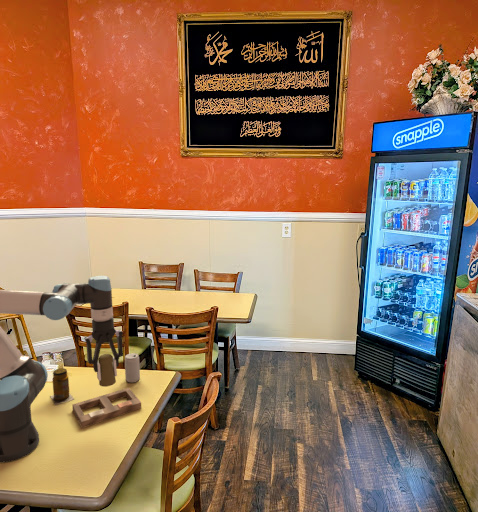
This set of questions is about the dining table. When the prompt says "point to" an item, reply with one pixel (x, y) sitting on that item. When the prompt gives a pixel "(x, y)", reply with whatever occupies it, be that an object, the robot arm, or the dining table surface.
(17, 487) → the dining table surface
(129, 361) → the beverage can
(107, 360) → the cork
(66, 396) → the condiment
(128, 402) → the caddy
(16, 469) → the dining table surface
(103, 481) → the dining table surface
